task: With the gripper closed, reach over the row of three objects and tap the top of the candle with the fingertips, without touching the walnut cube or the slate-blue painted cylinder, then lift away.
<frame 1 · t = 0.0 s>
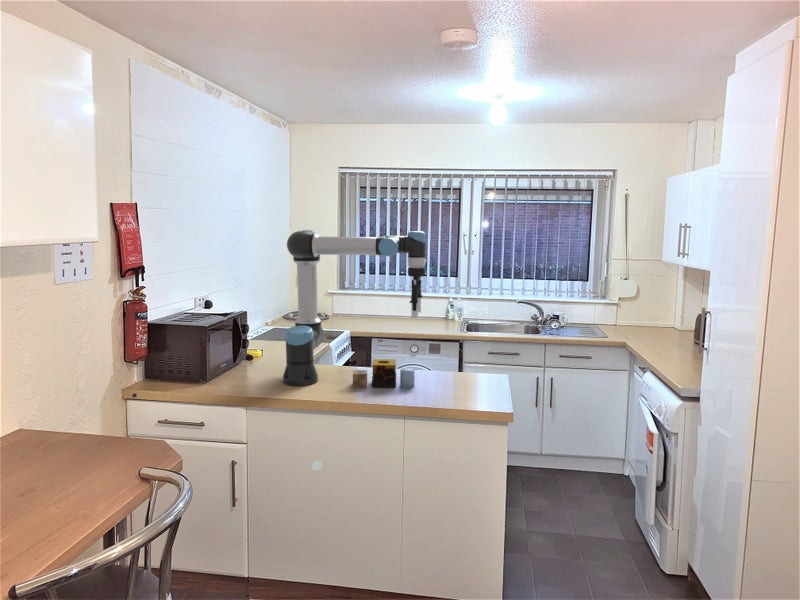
hand: (416, 315, 263), 28 cm above the kitchen counter, fingers open, 13 cm apart
candle: (384, 385, 255), on the kitchen counter
blue cylinder: (407, 386, 253), on the kitchen counter
walnut block: (360, 385, 254), on the kitchen counter
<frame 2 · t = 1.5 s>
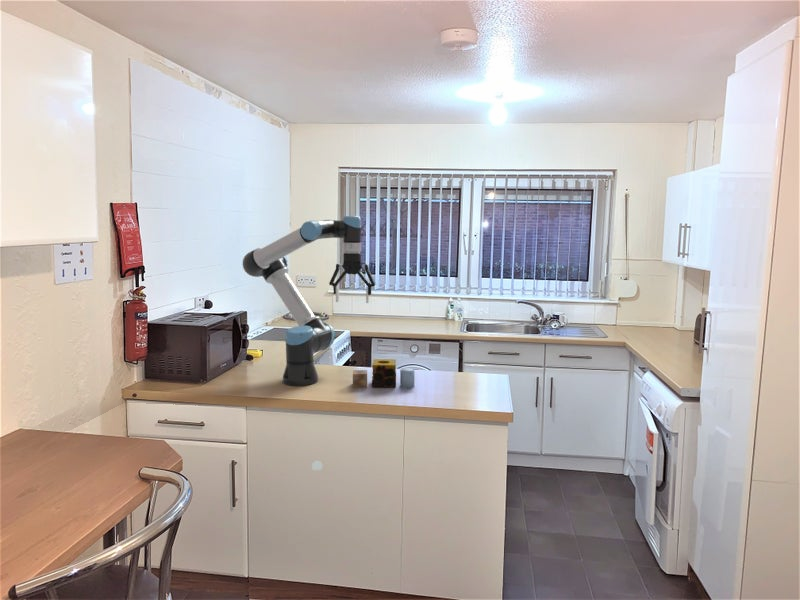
hand: (352, 302, 258), 34 cm above the kitchen counter, fingers open, 12 cm apart
nothing on the kitchen counter moved.
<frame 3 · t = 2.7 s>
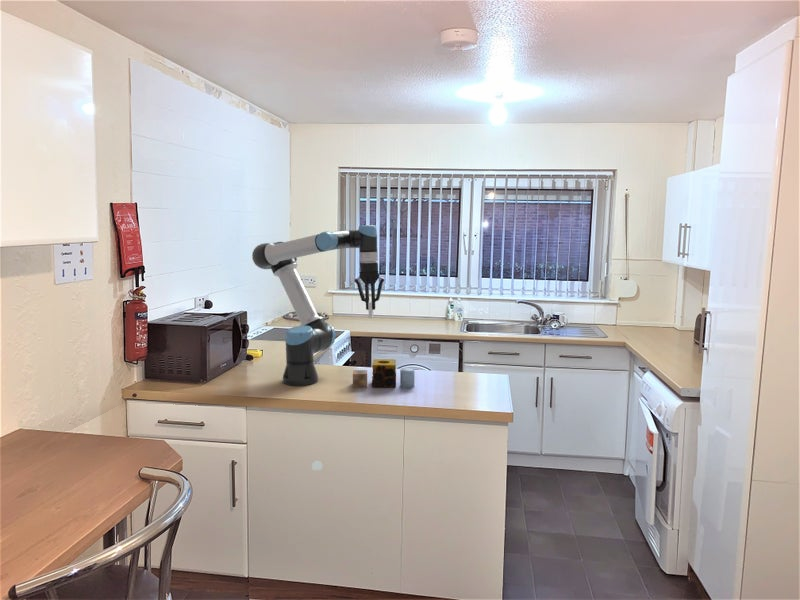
hand: (371, 317, 254), 29 cm above the kitchen counter, fingers closed
nothing on the kitchen counter moved.
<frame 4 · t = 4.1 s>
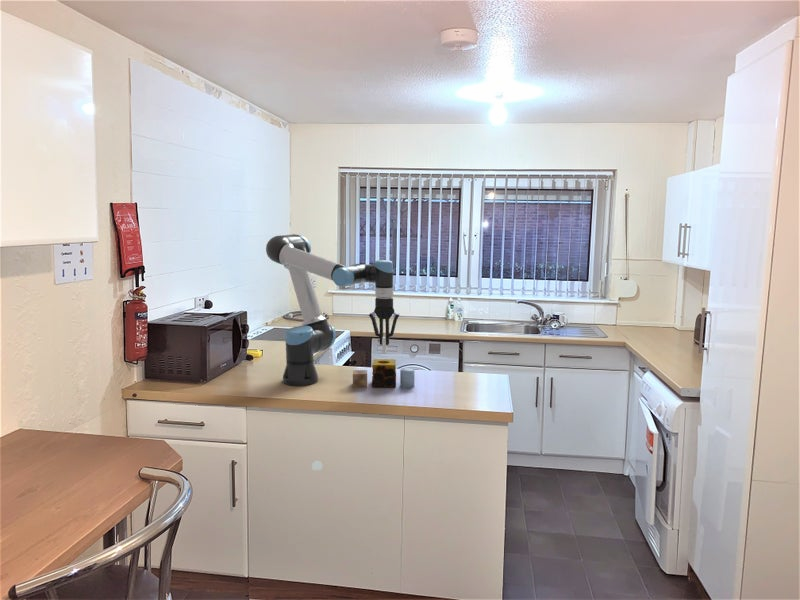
hand: (384, 352, 253), 14 cm above the kitchen counter, fingers closed
nothing on the kitchen counter moved.
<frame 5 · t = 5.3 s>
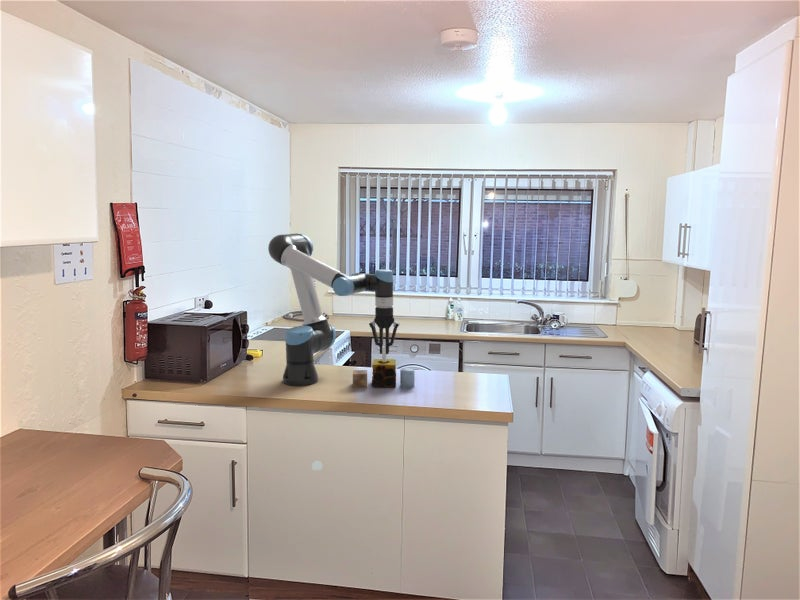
hand: (384, 361, 254), 10 cm above the kitchen counter, fingers closed
candle: (384, 384, 255), on the kitchen counter, touching gripper
everything else where it was.
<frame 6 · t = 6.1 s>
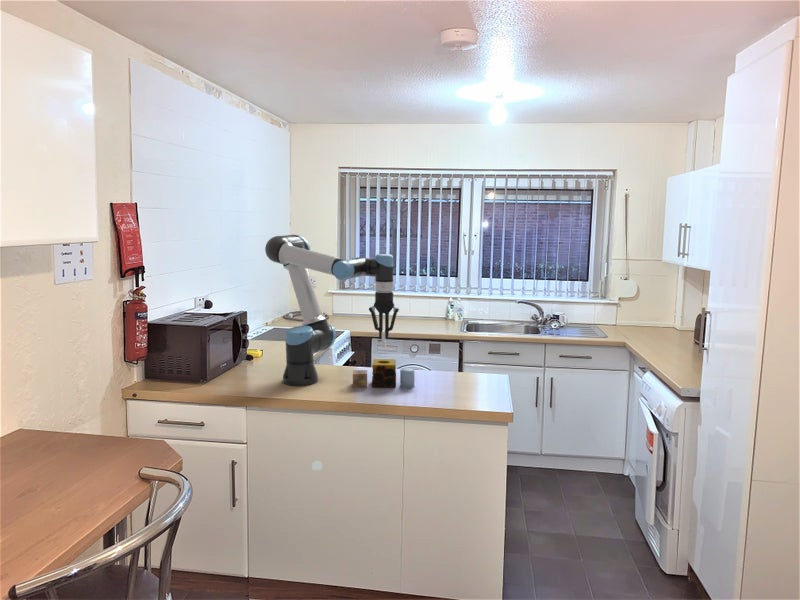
hand: (383, 346, 253), 17 cm above the kitchen counter, fingers closed
candle: (384, 385, 255), on the kitchen counter
everything else where it was.
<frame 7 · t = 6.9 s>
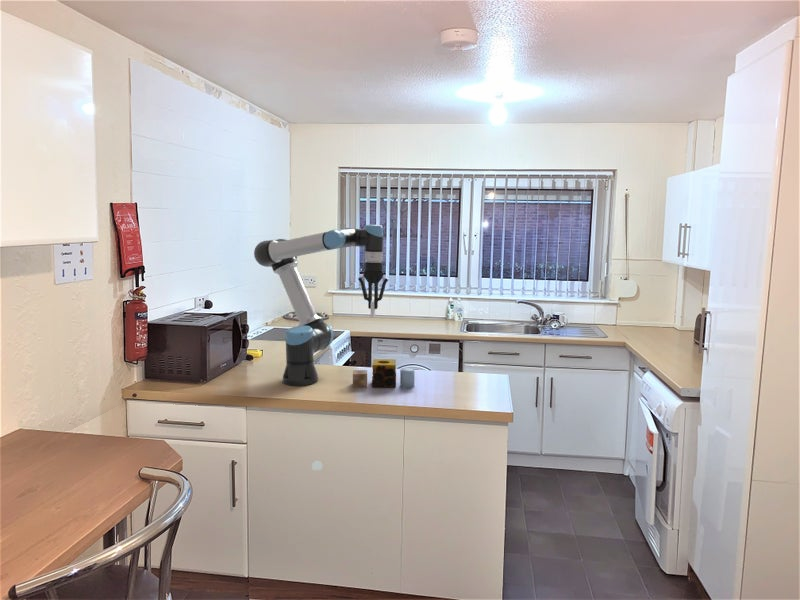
hand: (372, 316, 256), 29 cm above the kitchen counter, fingers closed
nothing on the kitchen counter moved.
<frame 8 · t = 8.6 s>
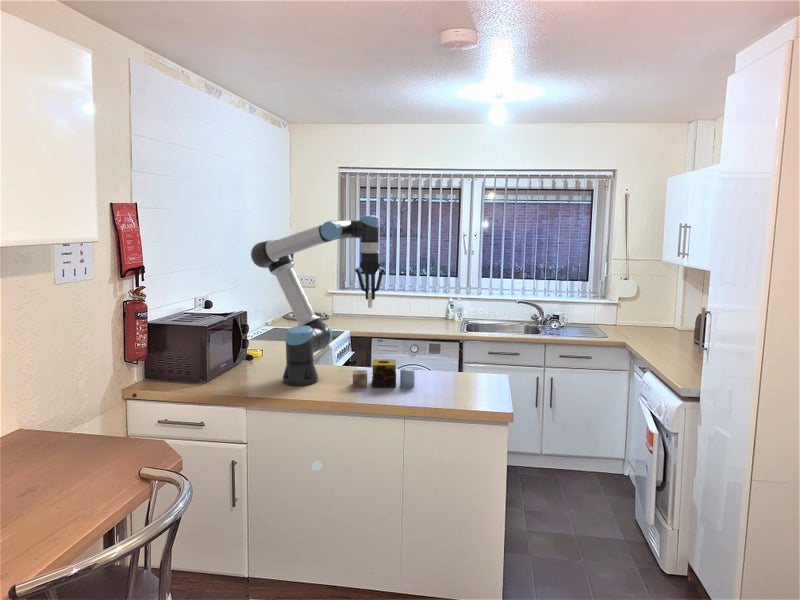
hand: (370, 307, 257), 32 cm above the kitchen counter, fingers closed
nothing on the kitchen counter moved.
at the end: candle moved 0.3 cm from its start; walnut block moved 0.1 cm from its start; blue cylinder moved 0.1 cm from its start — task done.
